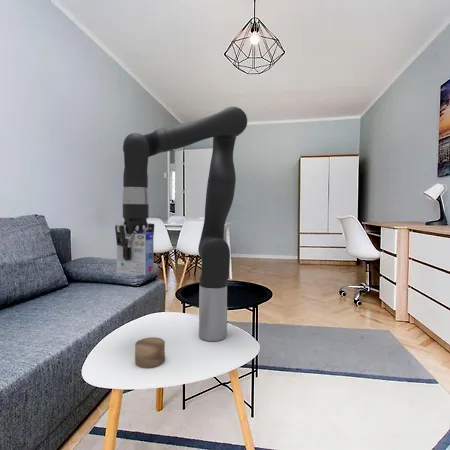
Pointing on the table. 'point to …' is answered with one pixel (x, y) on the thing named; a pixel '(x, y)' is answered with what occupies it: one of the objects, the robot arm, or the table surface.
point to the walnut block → (149, 352)
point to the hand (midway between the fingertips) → (135, 258)
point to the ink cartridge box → (137, 255)
